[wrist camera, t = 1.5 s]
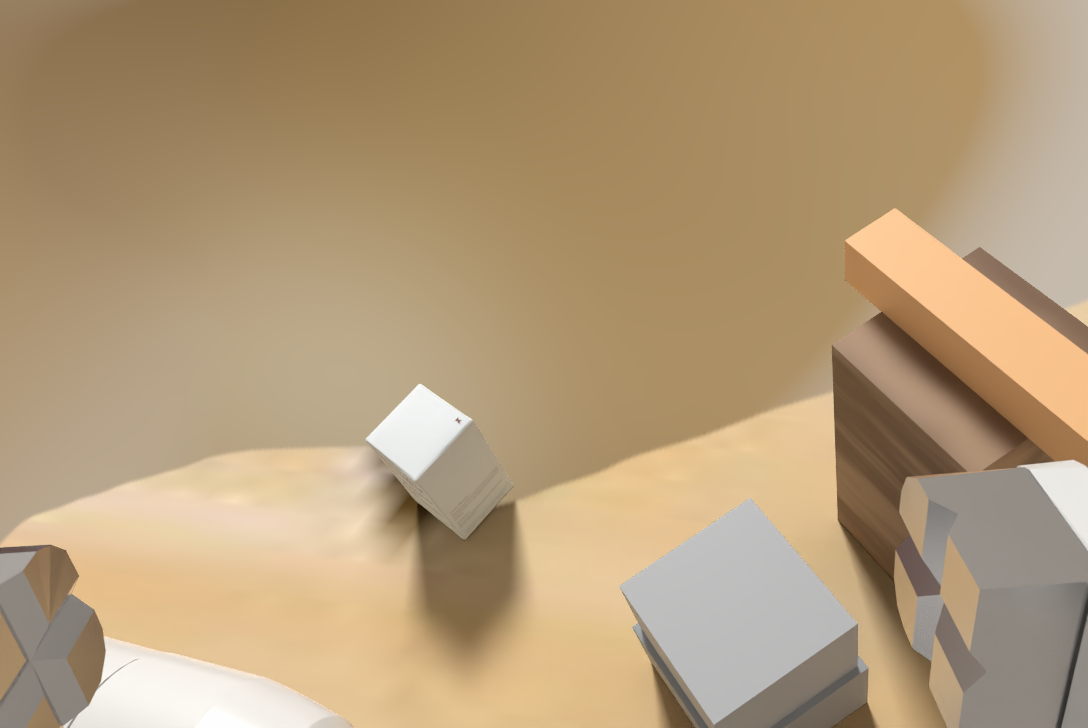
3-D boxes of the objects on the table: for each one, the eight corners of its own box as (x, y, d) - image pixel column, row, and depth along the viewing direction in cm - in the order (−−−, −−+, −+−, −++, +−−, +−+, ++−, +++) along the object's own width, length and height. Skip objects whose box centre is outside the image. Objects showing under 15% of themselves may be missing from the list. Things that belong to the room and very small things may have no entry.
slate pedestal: (738, 793, 72) (711, 736, 58) (651, 662, 79) (609, 584, 66) (867, 702, 73) (869, 625, 60) (769, 581, 80) (751, 488, 67)
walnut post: (940, 632, 74) (972, 476, 54) (837, 519, 82) (831, 344, 61) (1061, 547, 76) (1136, 363, 55) (949, 443, 83) (979, 247, 62)
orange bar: (1158, 550, 49) (1179, 516, 46) (845, 280, 64) (844, 240, 61) (1218, 507, 50) (1242, 471, 46) (893, 248, 64) (895, 208, 61)
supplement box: (466, 448, 96) (420, 379, 86) (516, 486, 92) (475, 419, 82) (414, 502, 94) (361, 438, 84) (463, 544, 90) (414, 481, 80)
